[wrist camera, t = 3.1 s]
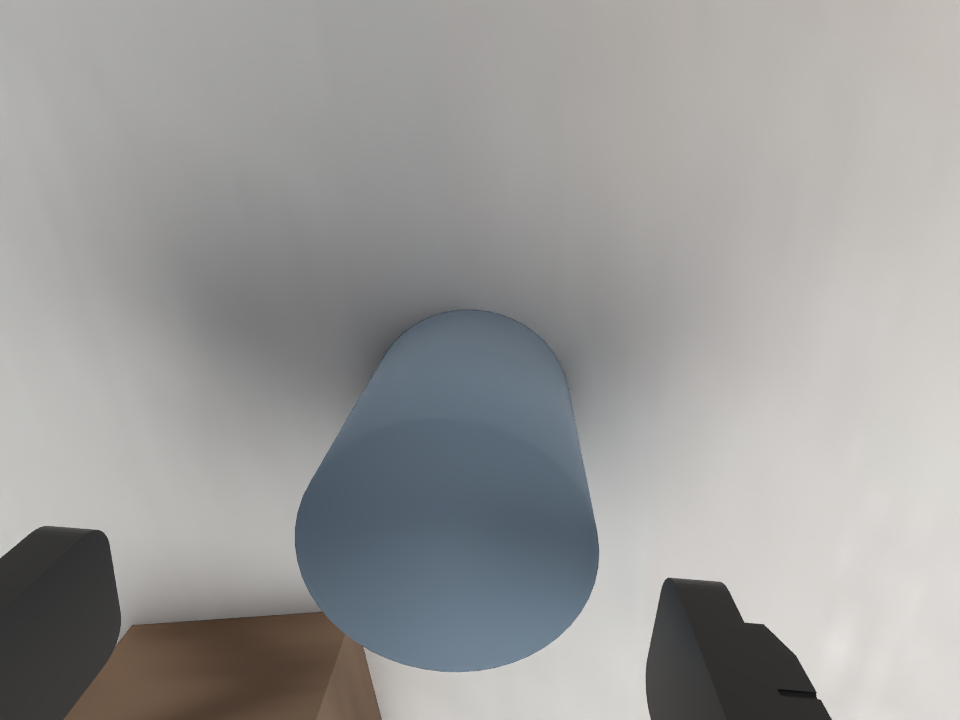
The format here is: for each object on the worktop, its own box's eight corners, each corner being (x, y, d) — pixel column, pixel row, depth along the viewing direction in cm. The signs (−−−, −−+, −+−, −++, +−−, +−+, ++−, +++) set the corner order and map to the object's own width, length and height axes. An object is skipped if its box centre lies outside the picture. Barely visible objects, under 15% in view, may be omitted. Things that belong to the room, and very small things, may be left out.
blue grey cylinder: (578, 316, 15) (616, 428, 9) (560, 495, 17) (582, 682, 11) (371, 303, 15) (284, 407, 9) (374, 482, 17) (302, 660, 11)
